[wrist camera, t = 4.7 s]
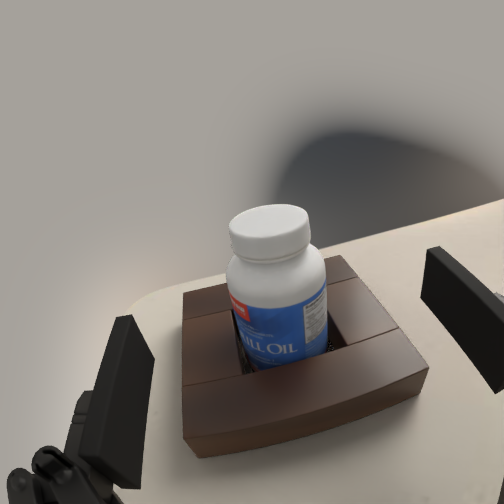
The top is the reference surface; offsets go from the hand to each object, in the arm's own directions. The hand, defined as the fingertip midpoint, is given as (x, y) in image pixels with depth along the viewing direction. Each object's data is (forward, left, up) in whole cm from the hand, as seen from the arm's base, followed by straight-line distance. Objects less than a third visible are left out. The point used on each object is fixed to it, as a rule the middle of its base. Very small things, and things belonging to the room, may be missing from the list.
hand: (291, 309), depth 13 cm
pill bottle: (-1, +4, -8) cm, 9 cm away
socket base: (-1, +4, -7) cm, 9 cm away
